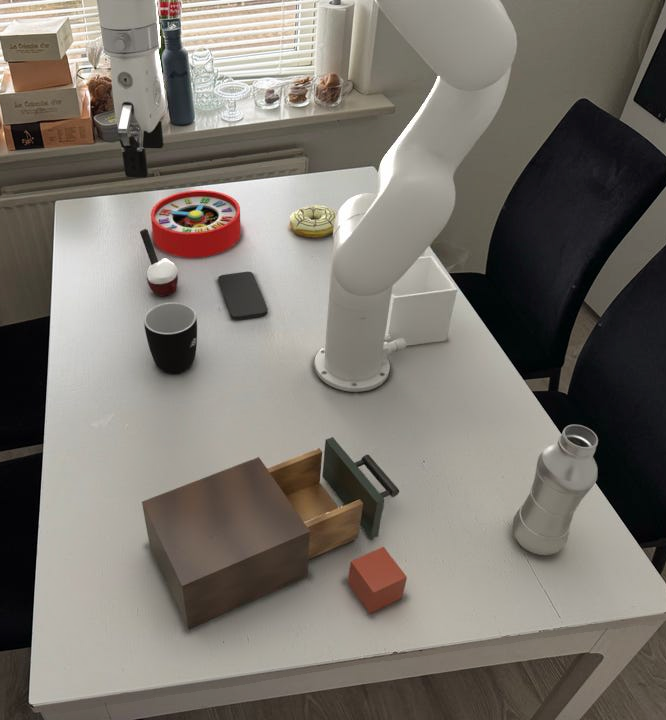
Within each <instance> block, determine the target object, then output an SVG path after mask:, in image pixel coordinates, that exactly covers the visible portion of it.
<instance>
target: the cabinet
mask: <svg viewBox="0 0 666 720" xmlns="http://www.w3.org/2000/svg"><path fill="white" fill-rule="evenodd" d="M267 468H268V467H266V464H264V462H263V461H262V459H261V458H260V457H259V456H257V457H255V458H252V459H249V460H247V461H244V462H241V463H239V464H236V465H234V466H231V467H228V468H225V469H224V470H221V471H218V472H216V473H213V474H210V475H208V476H205V477H202V478H200V479H197V480H195V481H192V482H189V483H186V484H184V485H182V486H178V487H176V488H174V489H171V490H169V491H166V492H164V493H160V494H157V495H156V496H153V497H150V498H148V499H145V500H143V501H141V506H142V512H143V517H144V522H145V528H146V534H147V538H148V544H149V548H150V550H151V552H152V555H153V557H154V559H155V561H156V563H157V566H158V567H159V570H160V572H161V575H162V576H163V578H164V581H165V583H166V585H167V587H168V589H169V591H170V593H171V596H172V598H173V600H174V603H175V605H176V606H177V609H178V611H179V613H180V615H181V618H182V620H183V622H184V624H185V627H186V628H187V630H191V629H192V628H194V627H198V626H199V625H201V624H203V623H206V622H208V621H210V620H213V619H214V618H217V617H219V616H222V615H224V614H227V613H228V612H231V611H232V610H235V609H237V608H239V607H242V606H244V605H246V604H249V603H251V602H253V601H255V600H258V599H259V598H262V597H265V596H266V595H269V594H271V593H273V592H276V591H278V590H280V589H283V588H284V587H286V586H289V585H291V584H293V583H295V582H298V581H300V580H302V579H304V578H307V577H308V568H309V559H308V555H309V541H310V530H309V529H308V527H307V526H306V524H305V523H304V522H303V520H302V519H301V517H300V516H299V514H298V513H297V511H296V510H295V509H294V507H293V506H292V504H291V503H290V501H289V500H288V498H287V497H286V495H285V494H284V493H283V491H282V490H281V488H280V487H279V485H278V484H277V482H276V481H275V480H274V478H273V477H272V475H271V474H270V472H269V471H268V469H267Z"/></svg>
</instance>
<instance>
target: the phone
mask: <svg viewBox="0 0 666 720" xmlns="http://www.w3.org/2000/svg"><path fill="white" fill-rule="evenodd" d="M217 278H218V279H217V280H218V285H219V287H220V290H221V293H222V296H223V299H224V302H225V305H226V308H227V310H228V314H229V317H230V318H231V319H232V320H243V319H249V318H256V317H263V316H266V315H267V314H269V308H268V307H267V306H268V305H267V303H266V300H265V299H264V296H263V294H262V291H261V288H260V286H259V284H258V282H257V280H256V278H255V275H254V273H253V272H252V271H247V270H246V271H239V272H233V273H226V274H221V275H219V276H218V277H217Z"/></svg>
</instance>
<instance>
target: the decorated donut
mask: <svg viewBox="0 0 666 720" xmlns="http://www.w3.org/2000/svg"><path fill="white" fill-rule="evenodd" d="M337 213H338V212H337V211H336V210H335V209H332V208H331V207H329V206H325V205H319V204H318V205H308V206H304V207H301V208H299V209H296V210H295V211H294V212H292V214H290V216H289V227H290V230H291V231H292V232H293V233H295V234H296V235H299V236H301V237H307V238H322V237H326V236H328V235H330V234H333V228H334V222H335V218H336V216H337Z"/></svg>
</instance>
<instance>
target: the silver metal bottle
mask: <svg viewBox="0 0 666 720" xmlns="http://www.w3.org/2000/svg"><path fill="white" fill-rule="evenodd" d="M598 442H599V438H598V436H597V434H596V433H595V432H594V431H593V430H592V429H590V428H589V427H587V426H584V425H581V424H569V425H567V426H565V427H564V428H563V430H562V433H561V435H560V436H559V438H558V440H557V442H555V443H552V444H550V445H548V446H547V447H545V448H544V449H543V450H542V451H541V452H540V453H539V455H538V457H537V461H536V467H535V473H534V479H533V482H532V485H531V488H530V492H529V494H528V495H527V497H526V499H525V501H524V502H523V504H522V505H520V507H519V508H518V510H517V511H516V513H515V514H514V516H513V519H512V533H513V536H514V538H515V539H516V541H517V542H518V544H519V545H520V546H521V547H522V548H523V549H524V550H526V551H528V552H530V553H532V554H535V555H539V556H550V555H553V554H557V553H558V552H559V551H561V549H562V548H563V547H564V546H565V545H566V544H567V543H568V539H569V536H570V535H569V534H570V528H571V524H572V520H573V517H574V515H575V512H576V510H577V509H578V507H579V505H580V504H581V502H582V501H583V500H584V498H585V496H586V495H587V494H588V493H589V492H590V491H591V489H592V488H593V487H594V485H595V484H596V482H597V480H598V470H599V469H598V464H597V462H596V460H595V457H594V455H595V453H596V450H597V446H598V444H599V443H598Z"/></svg>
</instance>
